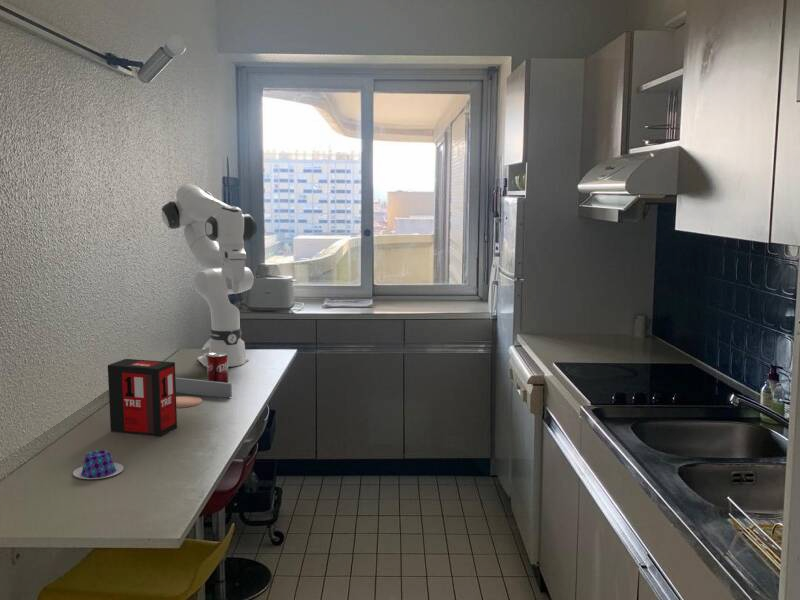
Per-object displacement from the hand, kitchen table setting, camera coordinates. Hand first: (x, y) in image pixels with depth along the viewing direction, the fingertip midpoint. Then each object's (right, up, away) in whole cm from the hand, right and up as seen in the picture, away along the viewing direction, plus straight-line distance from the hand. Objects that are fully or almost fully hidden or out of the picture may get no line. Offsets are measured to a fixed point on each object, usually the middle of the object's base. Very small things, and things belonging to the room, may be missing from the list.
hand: (232, 291), depth 289 cm
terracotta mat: (-13, -37, -20) cm, 44 cm away
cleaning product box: (-16, -42, -49) cm, 67 cm away
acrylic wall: (-9, -36, -10) cm, 38 cm away
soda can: (-5, -35, 0) cm, 35 cm away
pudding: (-16, -47, -84) cm, 98 cm away
